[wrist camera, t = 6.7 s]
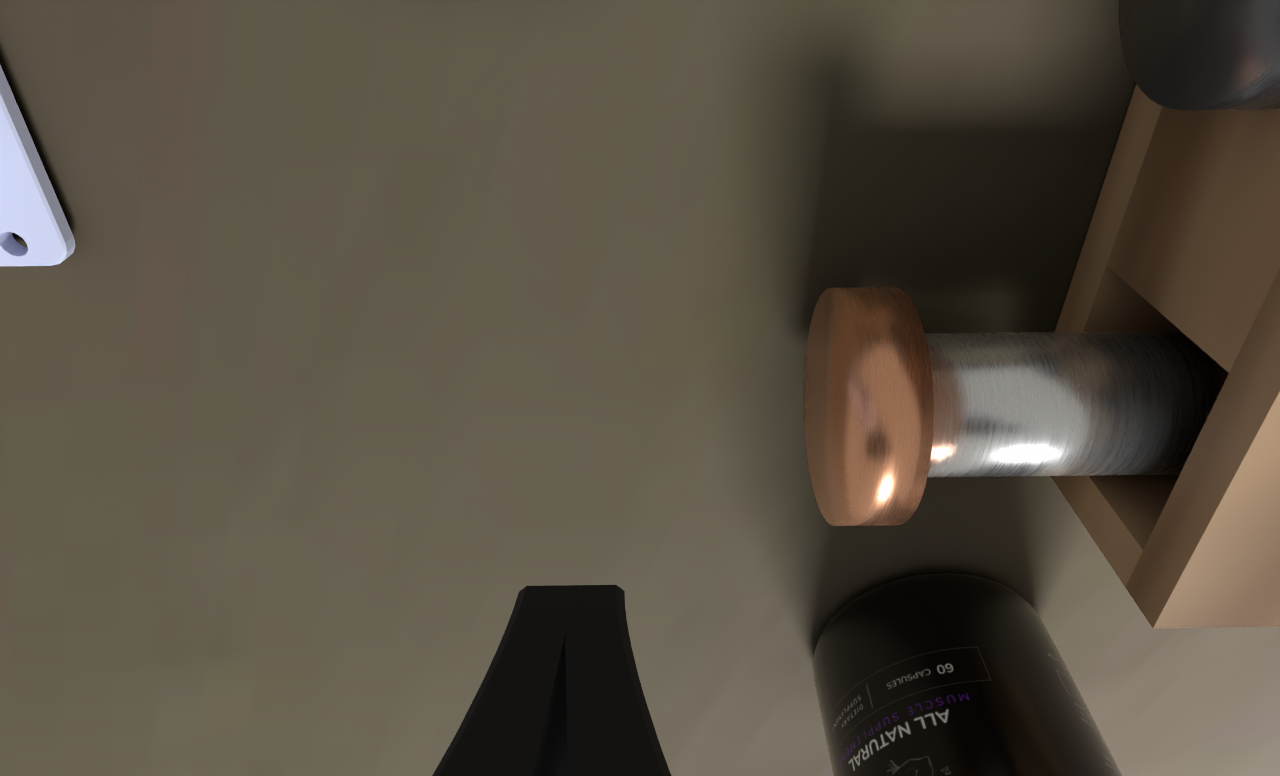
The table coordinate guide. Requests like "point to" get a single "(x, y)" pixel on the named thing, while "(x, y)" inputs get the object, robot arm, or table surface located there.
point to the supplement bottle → (950, 686)
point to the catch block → (1223, 328)
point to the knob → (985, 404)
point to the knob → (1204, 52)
